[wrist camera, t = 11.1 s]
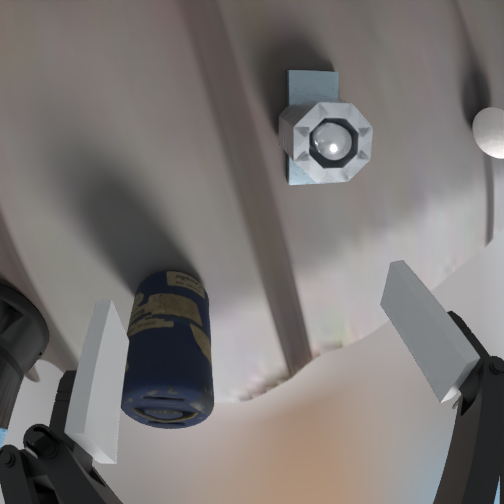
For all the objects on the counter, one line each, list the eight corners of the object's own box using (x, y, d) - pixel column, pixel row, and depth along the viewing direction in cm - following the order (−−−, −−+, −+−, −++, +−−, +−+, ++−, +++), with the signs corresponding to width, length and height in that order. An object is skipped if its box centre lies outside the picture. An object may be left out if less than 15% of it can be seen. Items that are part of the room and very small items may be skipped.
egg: (491, 145, 33) (529, 166, 27) (461, 148, 33) (502, 170, 27) (492, 102, 30) (534, 117, 23) (462, 101, 30) (505, 117, 23)
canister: (145, 255, 37) (117, 384, 22) (220, 277, 40) (231, 406, 24) (131, 311, 41) (109, 430, 26) (196, 328, 44) (199, 446, 29)
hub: (279, 163, 31) (293, 184, 26) (278, 95, 28) (293, 102, 23) (343, 161, 32) (368, 181, 27) (346, 96, 28) (373, 105, 23)
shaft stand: (287, 181, 34) (304, 209, 28) (286, 69, 27) (306, 71, 21) (331, 179, 34) (356, 206, 28) (334, 71, 28) (365, 75, 22)
